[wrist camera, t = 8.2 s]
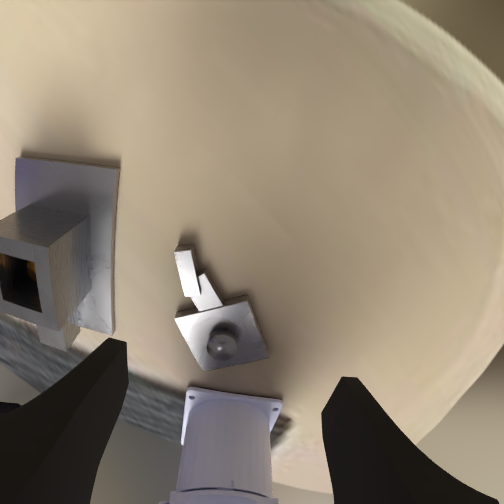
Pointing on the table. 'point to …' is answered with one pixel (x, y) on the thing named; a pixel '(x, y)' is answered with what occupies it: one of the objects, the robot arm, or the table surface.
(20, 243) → the gray hollow cube
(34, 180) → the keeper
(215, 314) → the gray t-shaped latch
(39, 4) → the table surface
